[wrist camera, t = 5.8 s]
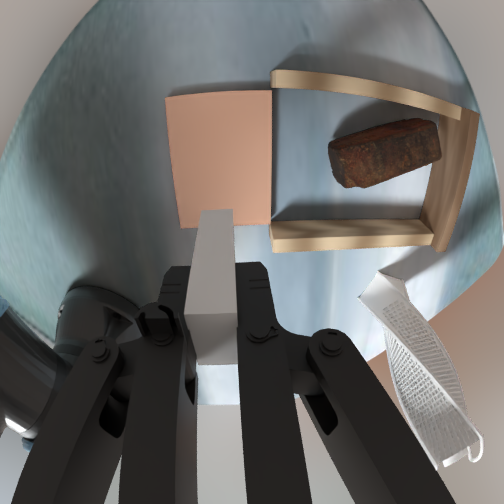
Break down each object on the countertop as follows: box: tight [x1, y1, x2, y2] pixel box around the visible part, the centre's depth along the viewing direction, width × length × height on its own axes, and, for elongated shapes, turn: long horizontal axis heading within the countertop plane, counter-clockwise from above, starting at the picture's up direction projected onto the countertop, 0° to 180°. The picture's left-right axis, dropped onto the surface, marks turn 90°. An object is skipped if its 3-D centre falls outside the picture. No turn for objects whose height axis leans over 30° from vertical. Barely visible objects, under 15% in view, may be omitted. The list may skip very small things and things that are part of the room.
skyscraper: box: [357, 271, 484, 471], centre depth 24 cm, size 8×8×28 cm
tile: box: [165, 90, 272, 229], centre depth 24 cm, size 9×13×1 cm
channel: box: [269, 70, 480, 253], centre depth 23 cm, size 20×16×5 cm
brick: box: [328, 118, 442, 188], centre depth 21 cm, size 11×4×5 cm, turn 112°
